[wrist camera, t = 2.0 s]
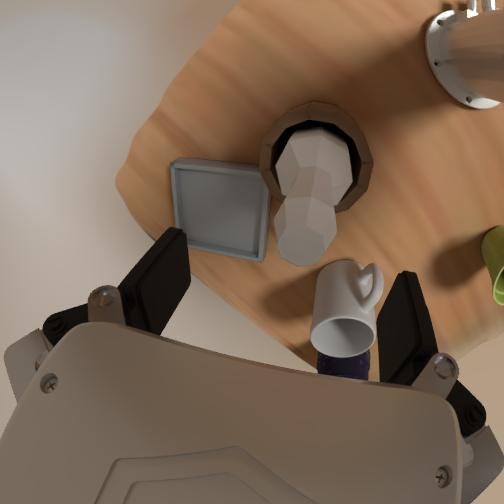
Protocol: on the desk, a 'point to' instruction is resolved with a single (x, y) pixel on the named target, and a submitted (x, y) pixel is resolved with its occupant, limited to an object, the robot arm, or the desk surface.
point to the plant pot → (495, 260)
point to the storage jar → (345, 366)
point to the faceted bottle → (310, 193)
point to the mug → (345, 308)
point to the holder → (326, 113)
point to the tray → (221, 207)
